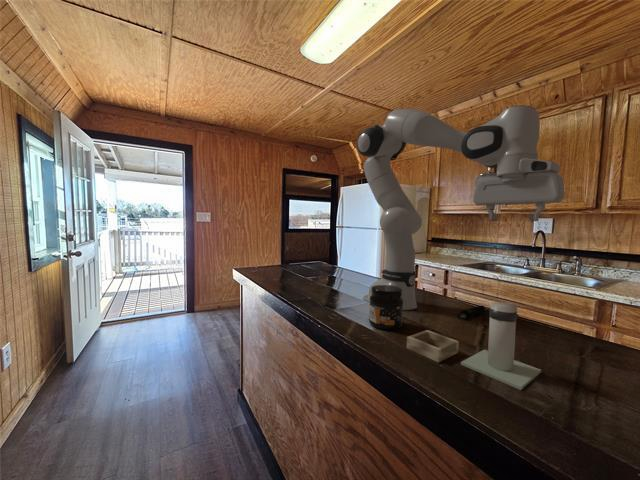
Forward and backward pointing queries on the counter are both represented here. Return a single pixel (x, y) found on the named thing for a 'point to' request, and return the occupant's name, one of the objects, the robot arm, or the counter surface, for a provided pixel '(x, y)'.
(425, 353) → the square wooden frame
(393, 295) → the supplement container
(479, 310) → the electric trimmer
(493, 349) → the white capsule post
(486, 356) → the mat
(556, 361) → the counter surface
